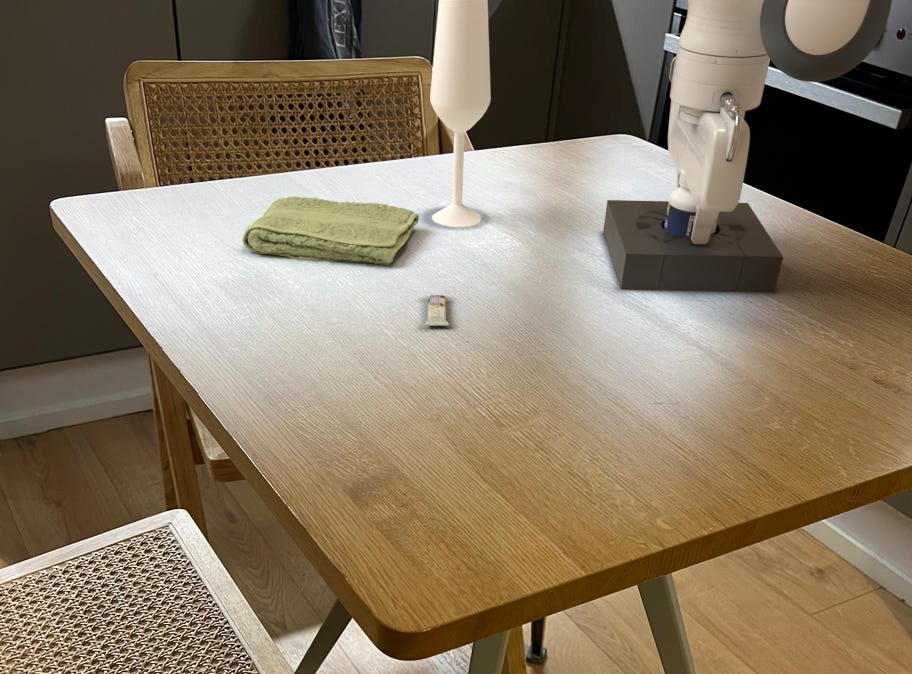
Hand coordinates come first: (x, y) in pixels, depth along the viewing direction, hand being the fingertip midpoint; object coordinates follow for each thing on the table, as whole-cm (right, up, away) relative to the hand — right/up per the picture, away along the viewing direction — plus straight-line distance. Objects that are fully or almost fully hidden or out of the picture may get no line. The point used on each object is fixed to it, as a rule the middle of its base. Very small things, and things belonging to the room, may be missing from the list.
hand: (690, 226), depth 104 cm
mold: (0, -3, +3) cm, 4 cm away
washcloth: (-39, 0, +6) cm, 39 cm away
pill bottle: (0, -3, +3) cm, 4 cm away
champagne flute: (-25, +6, +12) cm, 28 cm away
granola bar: (-27, -13, -8) cm, 31 cm away
